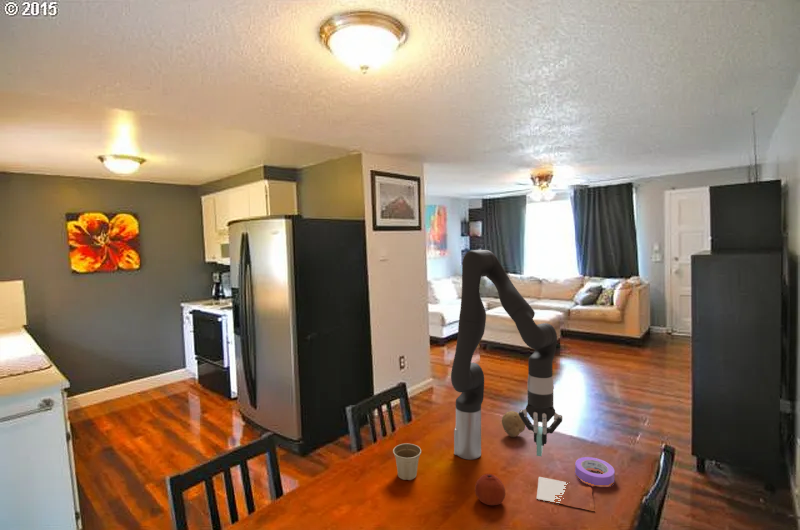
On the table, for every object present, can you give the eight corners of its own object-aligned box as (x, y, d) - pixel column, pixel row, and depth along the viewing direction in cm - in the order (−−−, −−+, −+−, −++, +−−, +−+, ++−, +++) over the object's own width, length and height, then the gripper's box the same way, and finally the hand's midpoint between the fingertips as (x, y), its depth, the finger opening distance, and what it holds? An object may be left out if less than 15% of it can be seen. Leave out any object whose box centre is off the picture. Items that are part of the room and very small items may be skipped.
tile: (536, 455, 122) (536, 435, 122) (538, 445, 130) (538, 426, 130) (541, 456, 122) (541, 436, 122) (543, 446, 129) (543, 427, 129)
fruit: (472, 492, 127) (472, 467, 127) (501, 492, 127) (501, 468, 126) (477, 511, 118) (477, 485, 118) (508, 511, 118) (508, 485, 118)
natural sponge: (515, 429, 168) (515, 405, 168) (530, 438, 160) (530, 414, 160) (497, 433, 165) (497, 409, 164) (511, 443, 157) (511, 418, 156)
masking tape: (619, 490, 128) (619, 478, 127) (579, 486, 130) (579, 474, 130) (608, 469, 139) (608, 458, 139) (571, 466, 141) (571, 455, 141)
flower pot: (425, 471, 139) (425, 446, 138) (414, 486, 131) (414, 460, 130) (400, 465, 143) (400, 441, 142) (388, 479, 135) (388, 454, 134)
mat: (536, 499, 123) (536, 498, 123) (538, 477, 134) (538, 476, 134) (595, 512, 117) (595, 511, 117) (592, 488, 128) (592, 487, 128)
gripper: (515, 390, 124) (516, 445, 125) (563, 396, 119) (563, 454, 120) (518, 382, 131) (519, 435, 132) (564, 387, 126) (564, 442, 127)
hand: (540, 443), depth 126 cm, fingers closed on tile, 1 cm apart
